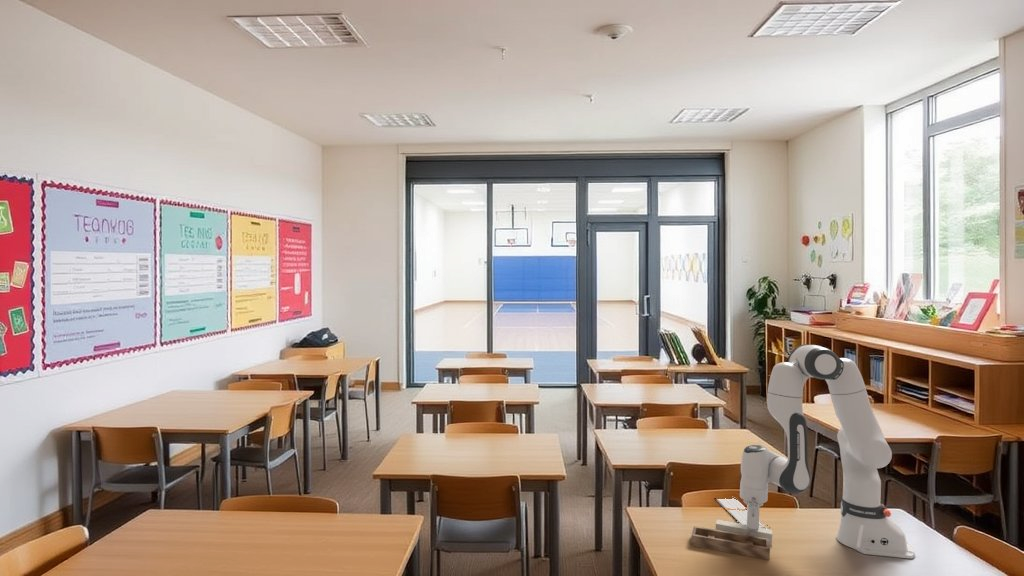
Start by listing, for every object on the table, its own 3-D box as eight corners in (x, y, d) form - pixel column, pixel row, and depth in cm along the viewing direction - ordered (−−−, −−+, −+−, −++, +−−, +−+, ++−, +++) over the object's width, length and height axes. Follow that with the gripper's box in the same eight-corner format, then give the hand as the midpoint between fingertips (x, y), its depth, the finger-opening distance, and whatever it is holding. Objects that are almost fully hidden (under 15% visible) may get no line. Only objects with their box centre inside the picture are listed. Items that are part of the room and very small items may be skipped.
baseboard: (738, 499, 241) (714, 499, 241) (738, 493, 241) (714, 492, 241) (772, 531, 211) (744, 531, 211) (772, 523, 211) (744, 523, 211)
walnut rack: (768, 549, 195) (769, 538, 195) (769, 559, 188) (769, 549, 188) (693, 536, 205) (693, 525, 204) (691, 545, 197) (691, 535, 197)
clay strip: (772, 541, 202) (772, 529, 202) (771, 546, 198) (772, 534, 198) (716, 530, 210) (717, 519, 210) (715, 534, 206) (715, 523, 206)
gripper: (764, 505, 192) (762, 547, 192) (763, 485, 211) (761, 524, 211) (743, 502, 194) (741, 543, 194) (744, 482, 213) (743, 520, 213)
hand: (752, 533), depth 203 cm, fingers closed on clay strip, 4 cm apart
